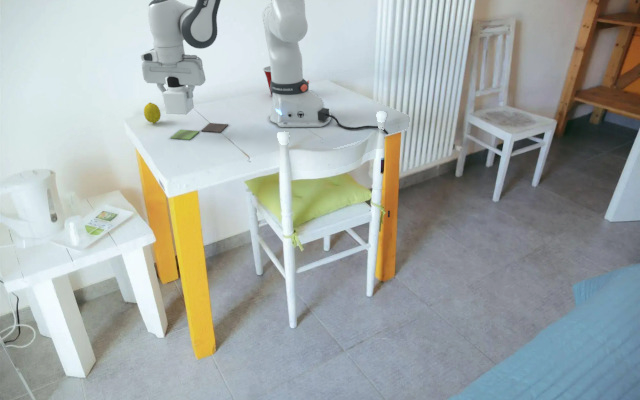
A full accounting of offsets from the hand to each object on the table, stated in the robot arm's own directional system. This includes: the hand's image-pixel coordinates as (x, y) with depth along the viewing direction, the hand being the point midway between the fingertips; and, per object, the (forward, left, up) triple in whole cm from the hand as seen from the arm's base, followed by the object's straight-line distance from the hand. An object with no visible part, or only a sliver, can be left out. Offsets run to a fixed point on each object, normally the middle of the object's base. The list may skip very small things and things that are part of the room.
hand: (177, 97), depth 151 cm
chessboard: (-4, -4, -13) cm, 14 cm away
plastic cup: (-19, -46, -14) cm, 51 cm away
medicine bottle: (0, 0, -5) cm, 5 cm away
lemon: (+16, -8, -14) cm, 23 cm away
